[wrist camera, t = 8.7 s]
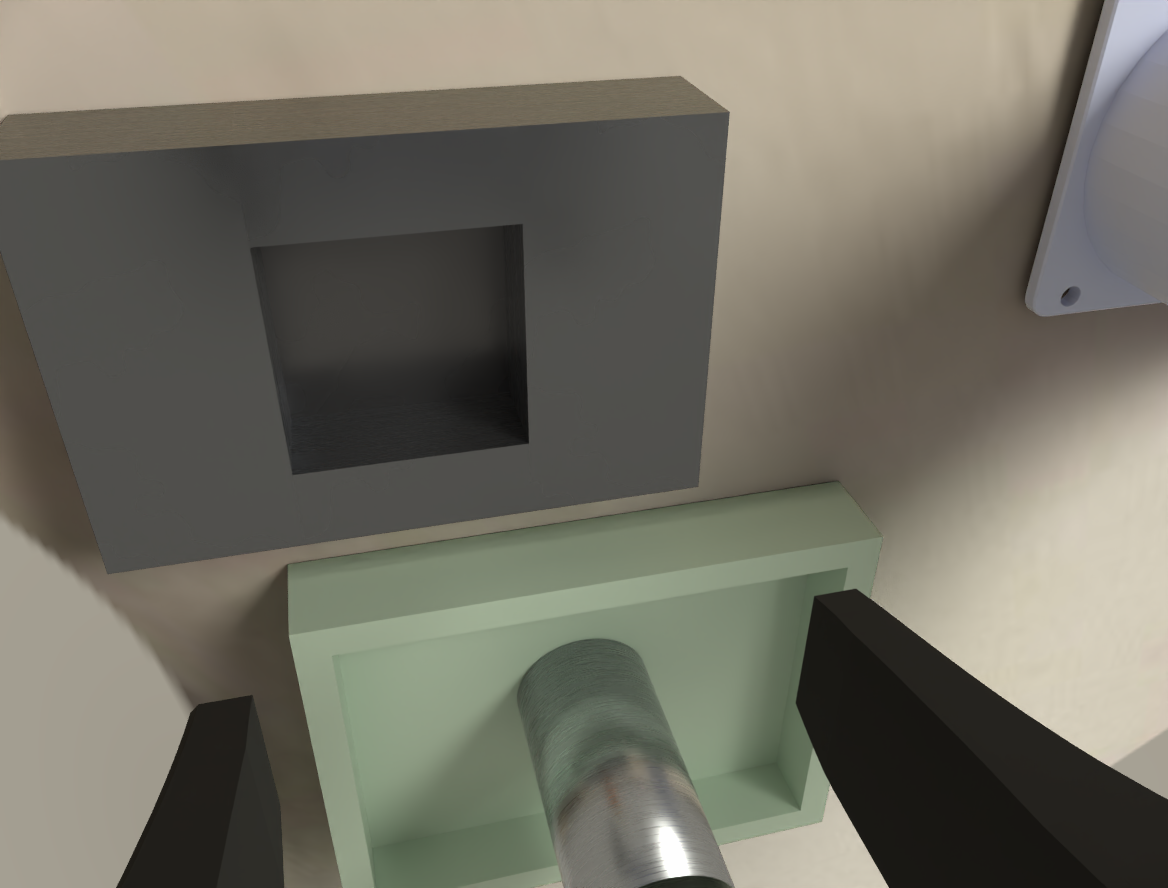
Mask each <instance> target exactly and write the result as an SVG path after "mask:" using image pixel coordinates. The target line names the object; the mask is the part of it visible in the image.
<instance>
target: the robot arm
mask: <svg viewBox="0 0 1168 888" xmlns="http://www.w3.org/2000/svg"><path fill="white" fill-rule="evenodd" d="M1068 288H1070V289H1069V291H1068V293H1067V294H1066V295H1065V296H1064V297H1063V298H1061V297H1062V295H1063V293H1064V292H1065V291H1066V290H1067V289H1068ZM1025 303H1026V306H1027V308H1029V309H1030V310H1032V311H1033V312H1034V313H1036V314H1037V315H1039V316H1044V317H1047V316H1056V315H1064V314H1072V313H1081V312H1089V311H1097V310H1106V309H1114V308H1122V307H1131V306H1139V305H1147V304H1156V303H1164V304H1166V305H1168V0H1105V1H1104V5H1103V8H1102V12H1101V16H1100V20H1099V23H1098V27H1097V31H1096V34H1095V38H1094V42H1093V46H1092V49H1091V53H1090V57H1089V60H1088V64H1087V68H1086V72H1085V75H1084V79H1083V83H1082V86H1081V90H1080V94H1079V98H1078V101H1077V105H1076V109H1075V112H1074V116H1073V120H1072V124H1071V127H1070V131H1069V135H1068V138H1067V142H1066V146H1065V150H1064V153H1063V157H1062V161H1061V164H1060V168H1059V172H1058V176H1057V179H1056V183H1055V187H1054V190H1053V194H1052V198H1051V202H1050V205H1049V209H1048V213H1047V217H1046V220H1045V224H1044V228H1043V231H1042V235H1041V239H1040V243H1039V246H1038V250H1037V254H1036V257H1035V261H1034V265H1033V269H1032V272H1031V276H1030V280H1029V283H1028V287H1027V291H1026V295H1025ZM796 706H797V708H798V711H799V713H800V716H801V718H802V721H803V723H804V726H805V729H806V731H807V734H808V736H809V739H810V741H811V743H812V746H813V748H814V750H815V753H816V755H817V757H818V760H819V762H820V764H821V767H822V769H823V771H824V773H825V775H826V777H827V779H828V781H829V783H830V784H831V786H832V788H833V790H834V792H835V793H836V795H837V797H838V799H839V801H840V802H841V804H842V806H843V808H844V809H845V811H846V813H847V815H848V817H849V818H850V820H851V822H852V824H853V825H854V827H855V829H856V831H857V832H858V834H859V836H860V838H861V839H862V841H863V843H864V845H865V846H866V848H867V850H868V852H869V853H870V855H871V857H872V859H873V860H874V862H875V864H876V866H877V867H878V869H879V871H880V873H881V874H882V876H883V878H884V880H885V881H886V883H887V885H888V887H889V888H1168V799H1166V798H1164V797H1162V796H1160V795H1158V794H1156V793H1155V792H1153V791H1151V790H1149V789H1148V788H1146V787H1144V786H1142V785H1141V784H1139V783H1137V782H1135V781H1134V780H1132V779H1130V778H1128V777H1127V776H1125V775H1123V774H1121V773H1120V772H1118V771H1116V770H1114V769H1113V768H1111V767H1109V766H1107V765H1106V764H1104V763H1102V762H1100V761H1099V760H1097V759H1096V758H1094V757H1092V756H1091V755H1089V754H1087V753H1086V752H1084V751H1082V750H1081V749H1079V748H1078V747H1076V746H1074V745H1073V744H1071V743H1070V742H1068V741H1067V740H1065V739H1064V738H1062V737H1060V736H1059V735H1057V734H1056V733H1054V732H1053V731H1051V730H1050V729H1048V728H1047V727H1045V726H1044V725H1042V724H1041V723H1039V722H1038V721H1036V720H1034V719H1033V718H1031V717H1030V716H1028V715H1027V714H1025V713H1024V712H1023V711H1021V710H1020V709H1018V708H1017V707H1015V706H1014V705H1012V704H1011V703H1009V702H1008V701H1007V700H1005V699H1004V698H1002V697H1001V696H999V695H998V694H997V693H995V692H994V691H992V690H991V689H990V688H988V687H987V686H985V685H984V684H983V683H981V682H980V681H978V680H977V679H976V678H974V677H973V676H972V675H970V674H969V673H967V672H966V671H965V670H963V669H962V668H961V667H959V666H958V665H957V664H955V663H954V662H953V661H951V660H950V659H949V658H947V657H946V656H945V655H943V654H942V653H941V652H939V651H938V650H937V649H935V648H934V647H933V646H931V645H930V644H929V643H927V642H926V641H925V640H924V639H922V638H921V637H920V636H918V635H917V634H916V633H914V632H913V631H912V630H910V629H909V628H908V627H907V626H905V625H904V624H903V623H901V622H900V621H899V620H897V619H896V618H895V617H893V616H892V615H891V614H890V613H888V612H887V611H886V610H884V609H883V608H882V607H880V606H879V605H878V604H876V603H875V602H874V601H872V600H871V599H870V598H868V597H867V596H866V595H864V594H863V593H862V592H860V591H859V590H857V589H850V590H845V591H839V592H833V593H828V594H822V595H816V596H814V600H813V605H812V611H811V617H810V623H809V628H808V634H807V640H806V646H805V651H804V657H803V663H802V668H801V674H800V680H799V686H798V691H797V697H796ZM116 888H284V874H283V850H282V831H281V811H280V803H279V799H278V795H277V791H276V787H275V783H274V779H273V775H272V771H271V767H270V763H269V759H268V755H267V751H266V747H265V743H264V739H263V735H262V731H261V728H260V724H259V720H258V716H257V712H256V708H255V704H254V700H253V696H252V695H250V696H244V697H239V698H233V699H227V700H222V701H216V702H210V703H205V704H199V705H198V706H197V707H196V708H195V709H194V710H193V711H192V712H191V713H190V716H189V719H188V722H187V725H186V728H185V731H184V734H183V737H182V740H181V742H180V745H179V748H178V750H177V753H176V756H175V759H174V761H173V764H172V766H171V769H170V771H169V774H168V776H167V778H166V781H165V783H164V786H163V788H162V790H161V793H160V795H159V797H158V800H157V802H156V804H155V807H154V809H153V812H152V814H151V816H150V818H149V820H148V822H147V824H146V826H145V829H144V831H143V833H142V835H141V837H140V839H139V841H138V844H137V846H136V848H135V850H134V852H133V854H132V856H131V858H130V861H129V863H128V865H127V867H126V869H125V871H124V873H123V875H122V877H121V879H120V881H119V883H118V885H117V887H116Z"/></svg>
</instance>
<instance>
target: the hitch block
mask: <svg viewBox="0 0 1168 888" xmlns="http://www.w3.org/2000/svg"><path fill="white" fill-rule="evenodd" d="M729 113H730V112H729V111H728V110H726V109H725V108H723V107H722V106H721V105H719V104H718V103H717V102H715V101H714V100H713V99H711V98H710V97H709V96H707V95H706V94H704V93H703V92H702V91H700V90H699V89H698V88H696V87H695V86H694V85H692V84H691V83H690V82H688V81H687V80H685V79H684V78H683V77H681V76H674V77H657V78H640V79H622V80H605V81H588V82H570V83H553V84H536V85H518V86H501V87H484V88H466V89H449V90H432V91H415V92H397V93H380V94H363V95H345V96H328V97H311V98H293V99H276V100H259V101H241V102H224V103H207V104H189V105H172V106H155V107H137V108H120V109H103V110H85V111H68V112H51V113H33V114H16V115H8V116H7V117H6V118H5V120H4V121H3V122H2V123H1V125H0V252H1V255H2V258H3V261H4V264H5V267H6V270H7V273H8V276H9V279H10V282H11V285H12V288H13V291H14V294H15V297H16V300H17V303H18V306H19V309H20V312H21V316H22V319H23V322H24V325H25V328H26V331H27V334H28V337H29V340H30V343H31V346H32V349H33V352H34V355H35V358H36V361H37V364H38V367H39V370H40V373H41V376H42V379H43V382H44V385H45V388H46V391H47V394H48V397H49V400H50V403H51V406H52V409H53V412H54V415H55V418H56V421H57V424H58V427H59V430H60V433H61V436H62V439H63V442H64V445H65V448H66V451H67V454H68V457H69V460H70V463H71V466H72V469H73V472H74V475H75V478H76V481H77V484H78V487H79V490H80V493H81V496H82V499H83V502H84V505H85V508H86V511H87V514H88V517H89V520H90V523H91V526H92V529H93V532H94V535H95V538H96V541H97V544H98V547H99V550H100V553H101V556H102V559H103V562H104V565H105V568H106V571H107V574H112V573H118V572H125V571H132V570H139V569H145V568H152V567H159V566H166V565H173V564H179V563H186V562H193V561H200V560H206V559H213V558H220V557H227V556H233V555H240V554H247V553H254V552H260V551H267V550H274V549H281V548H287V547H294V546H301V545H308V544H314V543H321V542H328V541H335V540H341V539H348V538H355V537H362V536H368V535H375V534H382V533H389V532H395V531H402V530H409V529H416V528H422V527H429V526H436V525H443V524H449V523H456V522H463V521H470V520H476V519H483V518H490V517H497V516H504V515H510V514H517V513H524V512H531V511H537V510H544V509H551V508H558V507H564V506H571V505H578V504H585V503H591V502H598V501H605V500H612V499H618V498H625V497H632V496H639V495H645V494H652V493H659V492H666V491H672V490H679V489H686V488H693V487H698V483H699V471H700V459H701V447H702V435H703V423H704V411H705V399H706V387H707V375H708V363H709V351H710V340H711V328H712V316H713V304H714V292H715V280H716V268H717V256H718V244H719V232H720V220H721V208H722V196H723V184H724V172H725V160H726V149H727V137H728V125H729Z"/></svg>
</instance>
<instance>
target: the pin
mask: <svg viewBox="0 0 1168 888" xmlns="http://www.w3.org/2000/svg"><path fill="white" fill-rule="evenodd" d="M517 703H518V708H519V712H520V716H521V720H522V724H523V728H524V732H525V736H526V740H527V744H528V748H529V752H530V756H531V760H532V764H533V768H534V772H535V776H536V780H537V784H538V788H539V792H540V796H541V800H542V804H543V808H544V812H545V815H546V819H547V823H548V827H549V831H550V835H551V839H552V843H553V847H554V851H555V855H556V859H557V863H558V867H559V871H560V875H561V879H562V883H563V887H564V888H735V887H734V884H733V882H732V879H731V877H730V875H729V872H728V870H727V867H726V865H725V862H724V860H723V857H722V855H721V852H720V850H719V847H718V845H717V842H716V840H715V837H714V835H713V832H712V830H711V827H710V825H709V823H708V820H707V818H706V815H705V813H704V810H703V808H702V805H701V803H700V800H699V798H698V795H697V793H696V790H695V788H694V785H693V783H692V780H691V778H690V776H689V773H688V771H687V768H686V766H685V763H684V761H683V758H682V756H681V753H680V751H679V748H678V746H677V743H676V741H675V738H674V736H673V733H672V731H671V729H670V726H669V724H668V721H667V719H666V716H665V714H664V711H663V709H662V706H661V704H660V701H659V699H658V696H657V694H656V691H655V689H654V686H653V684H652V682H651V679H650V677H649V674H648V672H647V669H646V667H645V664H644V662H643V660H642V658H641V657H640V655H639V654H638V653H637V652H636V651H635V650H634V649H633V648H631V647H630V646H628V645H626V644H624V643H621V642H618V641H615V640H609V639H586V640H580V641H576V642H572V643H569V644H566V645H563V646H561V647H559V648H557V649H555V650H553V651H551V652H549V653H547V654H546V655H545V656H543V657H542V658H540V659H539V660H538V661H537V662H536V663H535V664H534V665H533V666H532V667H531V668H530V669H529V670H528V671H527V673H526V674H525V675H524V677H523V679H522V681H521V683H520V686H519V688H518V693H517Z"/></svg>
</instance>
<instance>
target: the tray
mask: <svg viewBox="0 0 1168 888" xmlns="http://www.w3.org/2000/svg"><path fill="white" fill-rule="evenodd" d="M882 540H883V536H882V535H881V533H880V532H879V531H878V530H877V528H876V527H875V526H874V525H873V523H872V522H871V521H870V520H869V518H868V517H867V516H866V515H865V513H864V512H863V511H862V510H861V508H860V507H859V506H858V505H857V503H856V502H855V501H854V500H853V498H852V497H851V496H850V495H849V493H848V492H847V491H846V490H845V488H844V487H843V486H842V485H841V483H840V482H839V481H835V482H829V483H822V484H816V485H809V486H802V487H796V488H789V489H783V490H776V491H769V492H763V493H756V494H750V495H743V496H736V497H730V498H723V499H717V500H710V501H703V502H697V503H690V504H684V505H677V506H670V507H664V508H657V509H651V510H644V511H637V512H631V513H624V514H618V515H611V516H604V517H598V518H591V519H585V520H578V521H571V522H565V523H558V524H552V525H545V526H538V527H532V528H525V529H519V530H512V531H505V532H499V533H492V534H485V535H479V536H472V537H466V538H459V539H452V540H446V541H439V542H433V543H426V544H419V545H413V546H406V547H400V548H393V549H386V550H380V551H373V552H367V553H360V554H353V555H347V556H340V557H334V558H327V559H320V560H314V561H307V562H301V563H294V564H288V623H289V639H290V644H291V649H292V653H293V658H294V663H295V667H296V672H297V677H298V682H299V686H300V691H301V696H302V700H303V705H304V710H305V714H306V719H307V724H308V728H309V733H310V738H311V743H312V747H313V752H314V757H315V761H316V766H317V771H318V775H319V780H320V785H321V790H322V794H323V799H324V804H325V808H326V813H327V818H328V822H329V827H330V832H331V836H332V841H333V846H334V851H335V855H336V860H337V865H338V869H339V874H340V879H341V883H342V888H534V887H538V886H542V885H547V884H551V883H556V882H560V881H562V879H561V875H560V871H559V867H558V863H557V859H556V855H555V851H554V847H553V843H552V839H551V835H550V831H549V827H548V823H547V819H546V815H545V812H544V808H543V804H542V800H541V796H540V792H539V788H538V784H537V780H536V776H535V772H534V768H533V764H532V760H531V756H530V752H529V748H528V744H527V740H526V736H525V732H524V728H523V724H522V720H521V716H520V712H519V708H518V703H517V693H518V688H519V686H520V683H521V681H522V679H523V677H524V675H525V674H526V673H527V671H528V670H529V669H530V668H531V667H532V666H533V665H534V664H535V663H536V662H537V661H538V660H539V659H540V658H542V657H543V656H545V655H546V654H547V653H549V652H551V651H553V650H555V649H557V648H559V647H561V646H563V645H566V644H569V643H572V642H576V641H580V640H586V639H609V640H615V641H618V642H621V643H624V644H626V645H628V646H630V647H631V648H633V649H634V650H635V651H636V652H637V653H638V654H639V655H640V657H641V658H642V660H643V662H644V664H645V667H646V669H647V672H648V674H649V677H650V679H651V682H652V684H653V686H654V689H655V691H656V694H657V696H658V699H659V701H660V704H661V706H662V709H663V711H664V714H665V716H666V719H667V721H668V724H669V726H670V729H671V731H672V733H673V736H674V738H675V741H676V743H677V746H678V748H679V751H680V753H681V756H682V758H683V761H684V763H685V766H686V768H687V771H688V773H689V776H690V778H691V780H692V783H693V785H694V788H695V790H696V793H697V795H698V798H699V800H700V803H701V805H702V808H703V810H704V813H705V815H706V818H707V820H708V823H709V825H710V827H711V830H712V832H713V835H714V837H715V840H716V842H717V845H722V844H727V843H731V842H736V841H740V840H744V839H749V838H753V837H758V836H762V835H766V834H771V833H775V832H780V831H784V830H788V829H793V828H797V827H802V826H806V825H810V824H815V823H819V822H822V819H823V814H824V809H825V805H826V800H827V795H828V791H829V786H830V783H829V781H828V779H827V777H826V775H825V773H824V771H823V769H822V767H821V764H820V762H819V760H818V757H817V755H816V753H815V750H814V748H813V746H812V743H811V741H810V739H809V736H808V734H807V731H806V729H805V726H804V723H803V721H802V718H801V716H800V713H799V711H798V708H797V706H796V697H797V691H798V686H799V680H800V674H801V668H802V663H803V657H804V651H805V646H806V640H807V634H808V628H809V623H810V617H811V611H812V605H813V600H814V596H816V595H822V594H828V593H833V592H839V591H845V590H850V589H857V590H859V591H860V592H862V593H863V594H864V595H866V596H867V597H868V598H870V596H871V591H872V587H873V582H874V577H875V573H876V568H877V563H878V559H879V554H880V549H881V545H882Z"/></svg>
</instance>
